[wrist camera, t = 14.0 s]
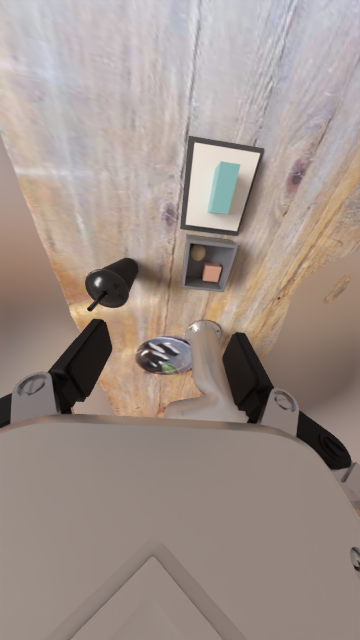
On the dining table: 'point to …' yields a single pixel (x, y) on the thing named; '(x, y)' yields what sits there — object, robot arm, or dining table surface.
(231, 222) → the lid
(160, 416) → the slice of bread
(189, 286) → the storage box
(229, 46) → the dining table surface
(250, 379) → the robot arm
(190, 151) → the mat
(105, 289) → the drinking cup
